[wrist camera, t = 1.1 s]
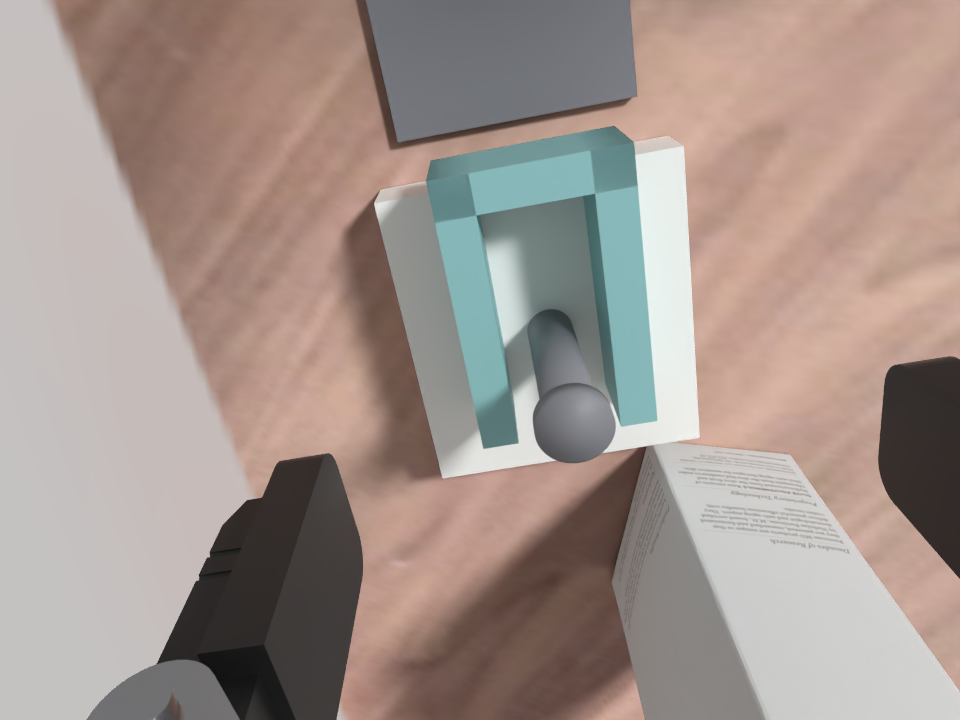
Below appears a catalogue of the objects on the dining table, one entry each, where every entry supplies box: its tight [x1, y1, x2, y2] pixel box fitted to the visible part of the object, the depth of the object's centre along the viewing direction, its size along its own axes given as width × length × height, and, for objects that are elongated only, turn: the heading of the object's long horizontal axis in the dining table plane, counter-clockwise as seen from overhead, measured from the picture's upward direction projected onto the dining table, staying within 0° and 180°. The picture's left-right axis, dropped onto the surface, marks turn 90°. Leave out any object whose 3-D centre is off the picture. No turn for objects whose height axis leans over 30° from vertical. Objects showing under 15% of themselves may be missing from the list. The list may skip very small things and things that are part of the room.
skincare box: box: [612, 442, 960, 720], centre depth 25 cm, size 8×7×16 cm
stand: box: [374, 136, 700, 478], centre depth 23 cm, size 11×10×9 cm
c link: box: [426, 126, 657, 449], centre depth 23 cm, size 9×6×3 cm, turn 10°
